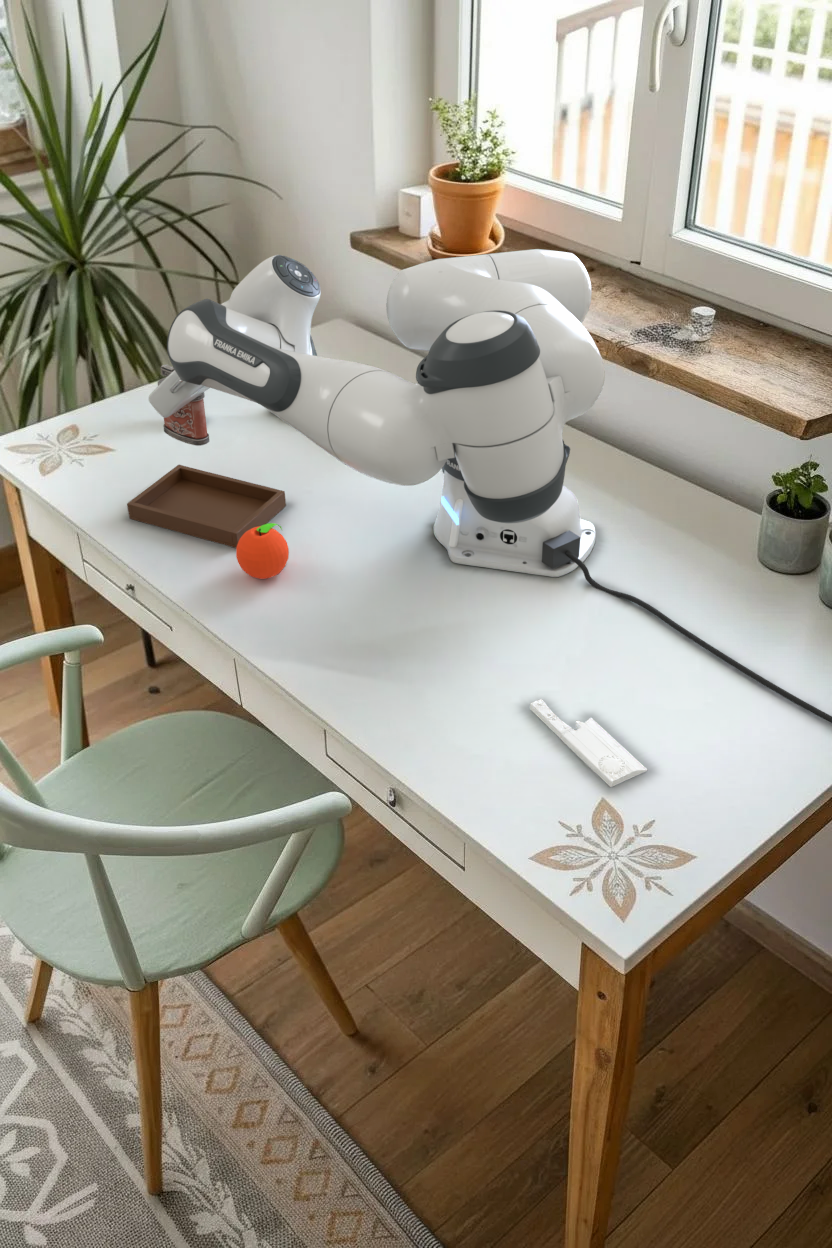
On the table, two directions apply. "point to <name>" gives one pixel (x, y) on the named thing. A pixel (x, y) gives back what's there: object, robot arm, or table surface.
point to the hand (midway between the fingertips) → (180, 399)
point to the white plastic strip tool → (592, 746)
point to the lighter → (187, 419)
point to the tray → (206, 505)
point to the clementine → (262, 551)
